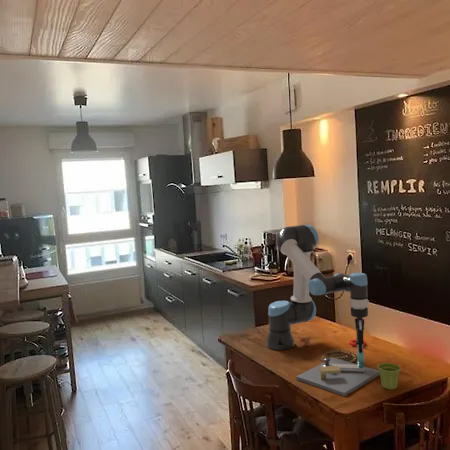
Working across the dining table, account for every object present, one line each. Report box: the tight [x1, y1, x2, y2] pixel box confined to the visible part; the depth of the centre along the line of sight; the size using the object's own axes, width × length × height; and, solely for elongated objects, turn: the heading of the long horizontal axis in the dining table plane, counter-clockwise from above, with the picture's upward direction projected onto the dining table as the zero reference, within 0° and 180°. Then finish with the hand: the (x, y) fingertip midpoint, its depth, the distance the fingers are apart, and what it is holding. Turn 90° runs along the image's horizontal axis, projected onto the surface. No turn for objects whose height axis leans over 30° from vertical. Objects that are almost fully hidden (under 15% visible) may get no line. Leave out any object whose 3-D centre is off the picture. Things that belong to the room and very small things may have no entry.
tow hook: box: [348, 339, 366, 347], centre depth 254 cm, size 8×13×9 cm
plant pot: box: [376, 362, 402, 390], centre depth 201 cm, size 9×9×9 cm
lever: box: [320, 351, 365, 372], centre depth 216 cm, size 19×5×8 cm, turn 78°
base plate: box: [295, 357, 380, 397], centre depth 213 cm, size 25×29×2 cm
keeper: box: [318, 366, 341, 380], centre depth 209 cm, size 5×8×4 cm, turn 93°
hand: (360, 357), depth 218 cm, fingers closed
